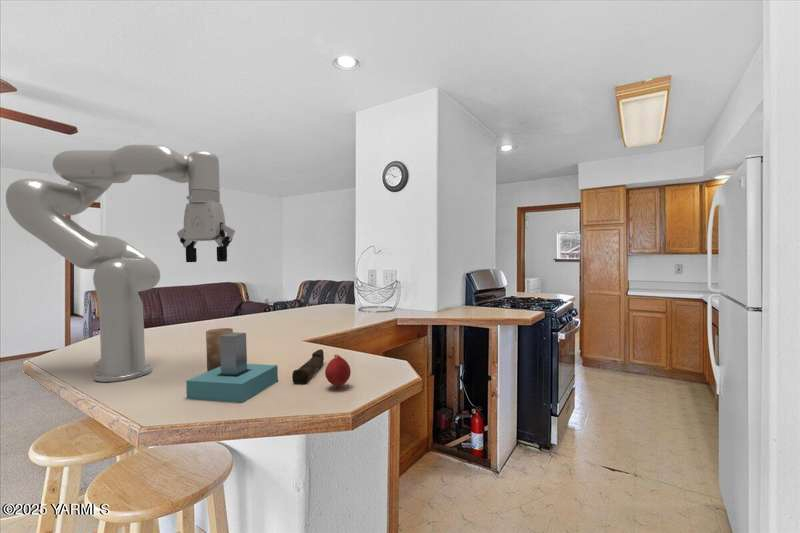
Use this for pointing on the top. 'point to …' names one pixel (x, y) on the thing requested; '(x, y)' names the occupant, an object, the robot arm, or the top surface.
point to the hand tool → (308, 368)
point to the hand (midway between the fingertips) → (206, 261)
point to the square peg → (233, 354)
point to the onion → (337, 371)
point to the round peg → (214, 347)
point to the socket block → (232, 384)
